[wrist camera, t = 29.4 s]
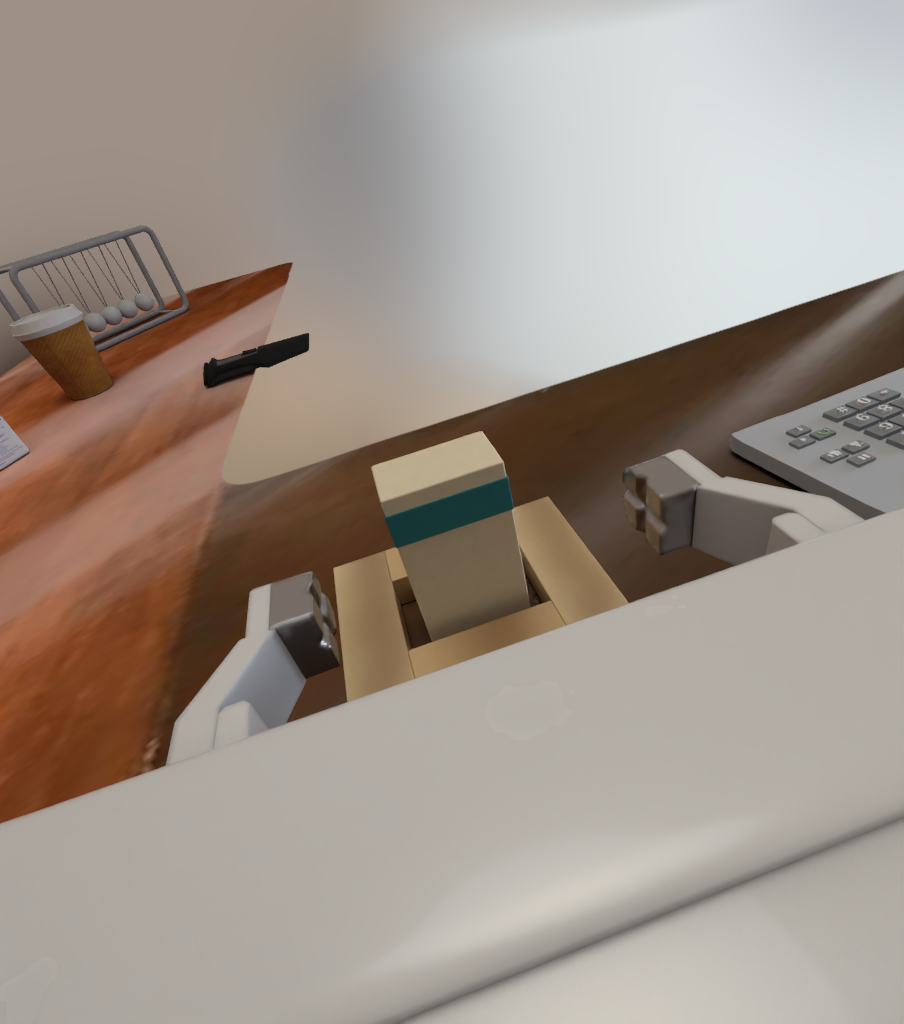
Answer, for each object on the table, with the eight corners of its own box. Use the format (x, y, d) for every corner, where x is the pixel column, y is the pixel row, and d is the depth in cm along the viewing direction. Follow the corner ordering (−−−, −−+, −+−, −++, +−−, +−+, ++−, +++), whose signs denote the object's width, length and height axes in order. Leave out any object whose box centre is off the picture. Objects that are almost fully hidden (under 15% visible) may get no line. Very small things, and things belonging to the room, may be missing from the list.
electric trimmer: (316, 358, 72) (308, 335, 71) (205, 390, 71) (193, 367, 69) (315, 350, 75) (308, 328, 74) (208, 380, 74) (198, 359, 72)
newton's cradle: (166, 310, 125) (123, 228, 115) (193, 308, 120) (150, 222, 109) (44, 365, 106) (-22, 272, 96) (70, 365, 101) (4, 267, 90)
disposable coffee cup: (91, 381, 88) (42, 308, 81) (136, 374, 85) (90, 298, 78) (46, 408, 81) (-11, 331, 74) (94, 401, 78) (40, 321, 71)
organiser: (363, 748, 24) (349, 724, 23) (344, 590, 33) (333, 567, 32) (642, 646, 25) (641, 619, 24) (551, 520, 34) (548, 495, 33)
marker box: (434, 653, 28) (379, 502, 22) (422, 609, 30) (369, 465, 25) (534, 618, 28) (505, 461, 22) (513, 578, 31) (482, 429, 25)
